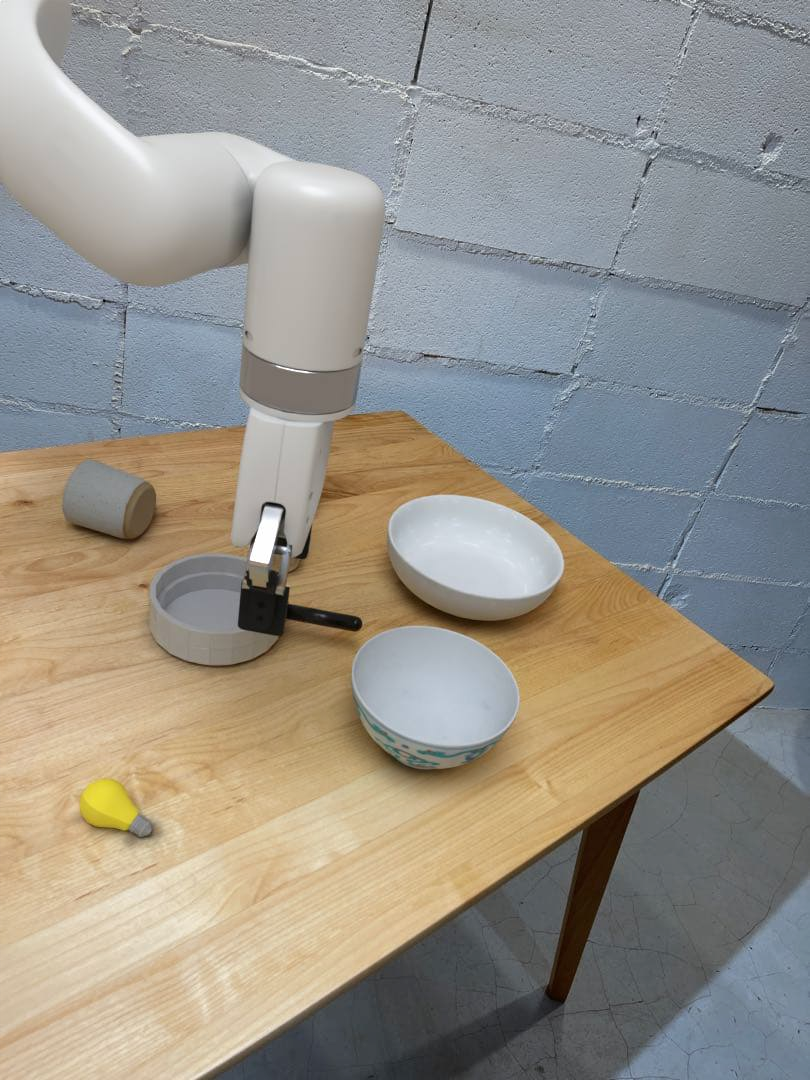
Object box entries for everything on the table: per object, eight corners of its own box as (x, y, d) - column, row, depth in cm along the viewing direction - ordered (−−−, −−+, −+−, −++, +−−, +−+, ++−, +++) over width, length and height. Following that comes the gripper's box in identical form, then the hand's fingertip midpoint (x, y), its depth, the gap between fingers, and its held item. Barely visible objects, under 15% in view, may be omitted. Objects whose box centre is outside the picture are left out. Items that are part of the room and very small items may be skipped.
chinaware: (305, 731, 74) (315, 668, 70) (412, 664, 84) (427, 606, 80) (428, 839, 67) (448, 775, 63) (529, 751, 77) (552, 691, 73)
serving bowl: (397, 645, 86) (408, 594, 83) (365, 536, 103) (373, 489, 100) (575, 645, 92) (593, 597, 88) (517, 542, 109) (530, 498, 105)
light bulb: (87, 795, 64) (105, 761, 63) (150, 836, 64) (170, 803, 63) (62, 818, 61) (81, 783, 60) (129, 862, 61) (149, 827, 60)
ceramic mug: (128, 553, 91) (129, 494, 87) (61, 534, 92) (59, 474, 88) (171, 511, 100) (174, 456, 96) (110, 494, 101) (110, 438, 97)
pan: (130, 655, 78) (130, 618, 76) (172, 577, 89) (173, 543, 87) (265, 679, 79) (270, 644, 76) (291, 599, 90) (295, 566, 87)
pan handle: (276, 620, 82) (278, 608, 81) (279, 611, 83) (281, 598, 83) (360, 636, 82) (362, 624, 82) (362, 626, 84) (364, 614, 83)
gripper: (270, 324, 59) (251, 522, 68) (204, 419, 44) (192, 655, 54) (371, 344, 59) (340, 538, 69) (339, 445, 45) (304, 676, 54)
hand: (275, 590), depth 61 cm, fingers open, 9 cm apart
